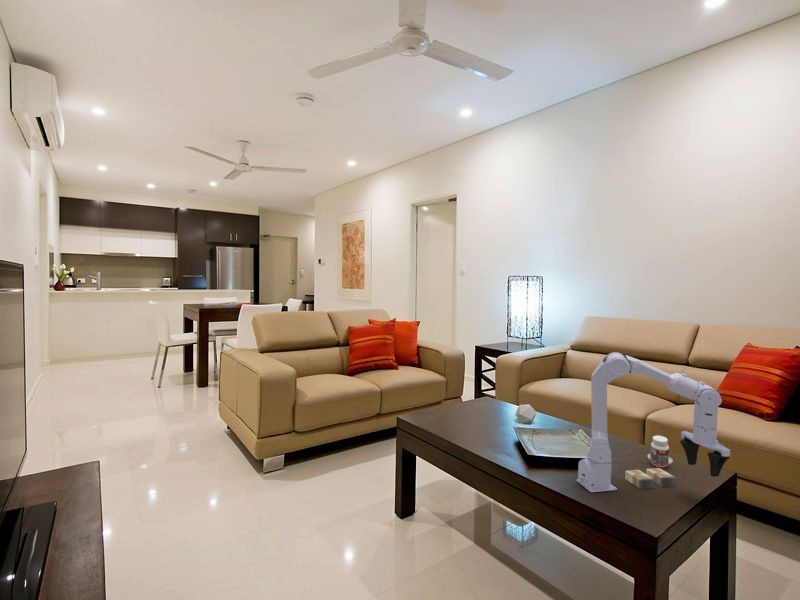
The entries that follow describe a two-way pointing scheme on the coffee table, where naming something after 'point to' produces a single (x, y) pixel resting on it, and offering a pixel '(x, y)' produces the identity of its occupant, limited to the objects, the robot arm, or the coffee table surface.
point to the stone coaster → (668, 462)
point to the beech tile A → (639, 479)
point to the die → (525, 413)
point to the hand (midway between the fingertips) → (703, 470)
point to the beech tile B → (661, 477)
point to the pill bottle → (659, 451)
